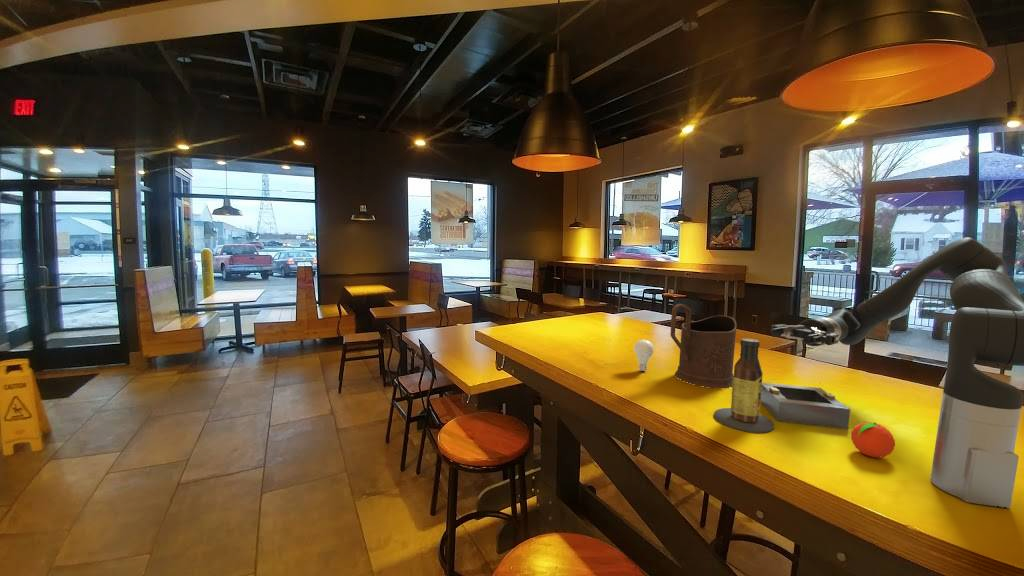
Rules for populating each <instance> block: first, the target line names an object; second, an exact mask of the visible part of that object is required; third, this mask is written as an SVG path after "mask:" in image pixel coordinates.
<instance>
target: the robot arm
mask: <svg viewBox="0 0 1024 576" xmlns="http://www.w3.org/2000/svg"><path fill="white" fill-rule="evenodd" d="M936 271H940V272H941V273H942V274H943V275H945V276H946V277H948V278H949V279H950V280H952V281H951V284H950V287H949V295H950V300H951V303H952V306H953V307H954V308H955V310H956V311H955V312H954V313H953V315H952V318H951V322H950V324H949V326H950V327H949V335H948V338H949V339H948V352H947V353H948V354H947V363H946V370H945V377H944V384H943V391H942V396H941V404H940V410H939V416H938V422H937V424H938V425H937V430H936V437H935V444H934V446H935V447H934V452H933V456H932V457H933V459H932V466H931V473H930V482H931V483H932V484H933V485H934V486H936V487H937V488H938V489H941V491H943V492H946V493H948V494H950V495H952V496H954V497H956V498H959V499H961V500H963V501H964V502H966V503H970V504H975V505H976V504H977V505H984V506H991V507H997V506H999V508H1004V507H1007V508H1006V509H1011V508H1012V507H1011V505H1012V499H1013V494H1014V488H1015V483H1016V478H1017V477H1016V476H1017V471H1018V470H1017V469H1018V464H1019V458H1020V456H1019V455H1018V454H1017V453H1015V448H1016V444H1017V443H1016V442H1017V437H1018V431H1019V427H1020V426H1019V425H1020V421H1021V420H1020V419H1021V414H1022V408H1023V403H1024V394H1023V391H1022V390H1021V389H1019V388H1017V387H1016V386H1014V385H1012V384H1010V383H1007V382H1005V381H1002V380H1000V379H997V378H994V377H992V376H990V375H988V374H986V373H984V372H983V371H981V370H979V369H978V368H977V367H976V366H975V361H977V362H985V363H993V364H999V365H1007V366H1016V367H1017V366H1018V367H1024V300H1023V298H1022V296H1021V295H1020V292H1019V290H1018V288H1017V287H1016V285H1015V284H1014V281H1013V280H1011V278H1010V276H1008V270H1007V265H1006V263H1005V261H1004V260H1003V259H1002V258H1001V257H1000V256H999V255H998V254H996V252H993V251H992V250H991V249H990V248H988V247H986V246H985V245H984V244H982V243H981V242H979V241H978V240H977V239H974V238H972V237H962V238H958V239H956V240H954V241H952V242H950V243H948V244H946V245H945V246H943V247H942V248H939V250H937V251H935V252H934V253H933V254H931V255H930V256H928V257H927V258H926V259H924V260H923V261H922V262H920V263H919V264H918V265H915V267H913V268H912V269H911V270H910V271H908V272H907V273H906V274H904V275H903V276H901V277H900V278H899V279H898V280H896V281H895V282H893V283H892V284H891V285H889V286H888V287H886V288H885V289H883V290H882V291H880V292H878V293H877V294H874V295H873V296H871V297H869V298H868V299H866V300H864V301H863V302H861V303H859V304H858V305H857V307H856V312H857V315H858V316H859V319H860V322H859V321H858V320H857V318H856V317H855V316H854V315H853V313H851V312H850V311H849V310H846V309H837V310H834V311H832V312H831V313H829V314H828V315H827V316H826V317H815V318H808V319H804V320H803V321H801V322H800V323H799V324H796V325H787V324H785V323H782V324H781V323H780V324H772V325H771V328H770V336H771V337H772V338H778V337H784V338H787V339H793V340H799V341H801V342H802V343H803V344H805V345H807V346H811V347H819V346H825V345H827V346H834V345H835V344H839V342H840V344H843V345H845V346H853V345H857V344H859V343H860V342H861V341H863V340H864V339H865V338H866V337H867V336H868V335H869V334H870V333H871V332H872V331H873V330H875V328H877V327H878V326H879V325H881V324H882V323H884V322H886V321H888V320H890V319H892V318H894V317H896V316H897V315H899V314H901V313H903V312H904V311H905V310H907V309H908V307H910V305H911V304H912V303H913V300H914V298H915V297H916V294H917V292H918V290H919V288H920V287H921V284H922V283H923V282H924V281H925V280H926V278H928V276H930V275H931V274H933V273H934V272H936Z"/></svg>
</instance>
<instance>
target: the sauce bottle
mask: <svg viewBox="0 0 1024 576" xmlns="http://www.w3.org/2000/svg"><path fill="white" fill-rule="evenodd" d="M759 348H760V340H758V339H755V338H741V339H740V354H739V359H738V360H737V361H736V362H735V364H734V365H733V374H734V375H733V386H732V387H731V389H732V390H731V403H730V408H731V411H732V412H731V415H732V417H733V418H734V419H736V420H739V421H742V422H747V423H754V422H757V421H758V418H759V415H761V414H760V413H761V404H762V403H761V391H762V383H763V375H764V374H763V370H762V366H761V364H760V360H759Z"/></svg>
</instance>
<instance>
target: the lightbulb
mask: <svg viewBox="0 0 1024 576" xmlns="http://www.w3.org/2000/svg"><path fill="white" fill-rule="evenodd" d="M633 347H634V348H633V351H634V353H635V355H636V357H637V362H638V371H640V372H642V371H644V372H646V371H647V370H648V363H649V361H650V359H651V357H652V356H653V354H654V350H655V348H654V345H653V343H652V342H651V341H650V340H647V339H639V340H638V341H636V343H635V344H634V346H633Z"/></svg>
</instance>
